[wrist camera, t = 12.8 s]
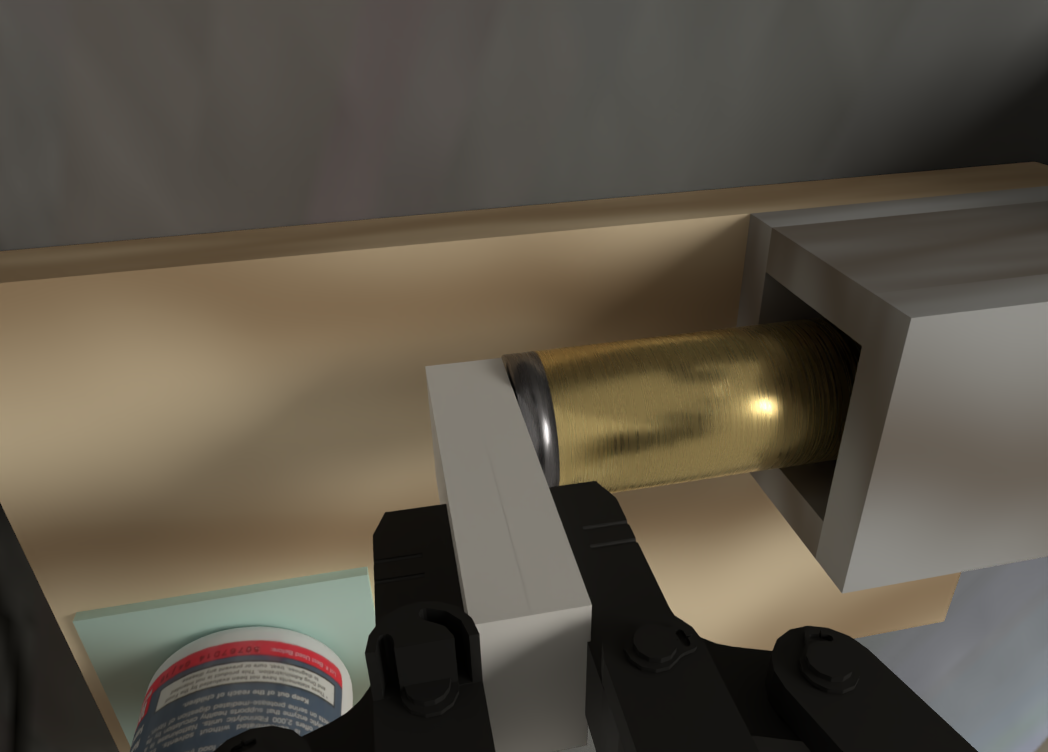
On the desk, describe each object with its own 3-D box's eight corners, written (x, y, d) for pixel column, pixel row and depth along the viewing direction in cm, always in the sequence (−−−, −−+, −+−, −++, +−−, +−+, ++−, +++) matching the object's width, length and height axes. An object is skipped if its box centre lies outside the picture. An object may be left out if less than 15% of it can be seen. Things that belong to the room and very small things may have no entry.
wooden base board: (-51, 255, 16) (-338, 467, 9) (1034, 161, 20) (1370, 262, 13) (152, 726, 23) (74, 1024, 17) (903, 589, 27) (1074, 786, 21)
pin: (496, 329, 15) (525, 404, 13) (853, 289, 17) (945, 350, 14) (502, 449, 17) (529, 538, 14) (829, 404, 18) (908, 479, 15)
